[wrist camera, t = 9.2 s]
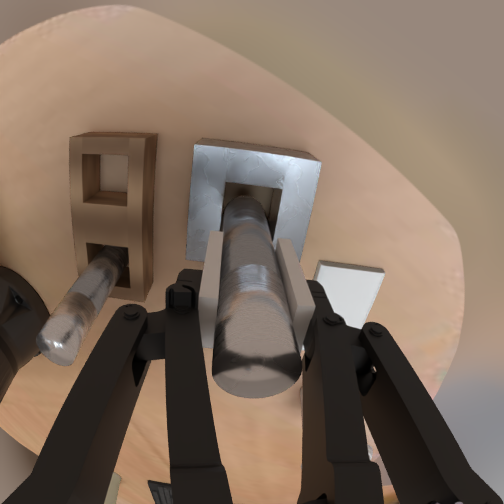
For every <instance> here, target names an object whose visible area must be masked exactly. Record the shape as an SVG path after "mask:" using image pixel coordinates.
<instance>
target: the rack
mask: <svg viewBox="0 0 504 504" xmlns="http://www.w3.org/2000/svg"><path fill="white" fill-rule="evenodd" d="M157 135H158V134H150V133H120V132H88V133H84V134H81V135H77V136H73V137H70V141H69V174H70V199H71V214H72V226H73V236H74V245H75V254H76V261H77V268H78V275H79V276H80V275H81V274H82V273H83V271H84V270H85V269H86V268H87V266H88V265H89V264H90V263H91V261H92V260H93V259H94V258H95V256H96V255H97V254H98V253H99V251H100V250H101V249H102V248H103V246H102V244H103V245H112V246H120V247H128V253H129V267H126V268H125V269H124V271H123V273H122V274H121V276H120V278H119V279H118V281H117V283H116V284H115V286H114V288H113V290H112V291H111V293H110V295H109V296H108V297H112V298H118V299H124V300H131V301H138V302H145V300H146V298H147V295H148V293H149V291H150V288H151V286H152V284H153V202H154V178H155V161H156V147H157ZM100 154H109V155H129V156H128V189H127V193H123V192H109V191H100Z"/></svg>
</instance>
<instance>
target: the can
mask: <svg viewBox="0 0 504 504" xmlns="http://www.w3.org/2000/svg"><path fill="white" fill-rule="evenodd" d="M120 481H121V477H120V476H119V475H118V474H116V473H115V472H113V475H112V478H111V481H110V485H109V488H108V492H107V495H106V499H105V502H104V504H116V500H117V495H118V490H119V485H120Z"/></svg>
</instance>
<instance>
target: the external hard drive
mask: <svg viewBox="0 0 504 504" xmlns="http://www.w3.org/2000/svg"><path fill="white" fill-rule="evenodd" d="M384 276H385V271H384V270H383V269H380V268H372V267H364V266H357V265H350V264H342V263H335V262H328V261H319V262H318V265H317V269H316V272H315V275H314V279H313V280H315V281H318V282H319V283H320V284H321V285H322V286H323V288H324V290H325V292H326V293H325V294H326V295H327V297H328V299H329V301H330V304H331V306H332V308H333V311H334V313H337V314H339V315H340V316H341V317H343V318H344V320H345V322H346V325H348V326H351V327H355V328H358V329H362V327H363V325H364V322H365V320H366V318H367V316H368V313H369V311H370V309H371V307H372V304H373V302H374V300H375V298H376V295H377V293H378V290H379V288H380V285H381V283H382V280H383V278H384ZM302 350H304V346H303V347H302Z"/></svg>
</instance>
